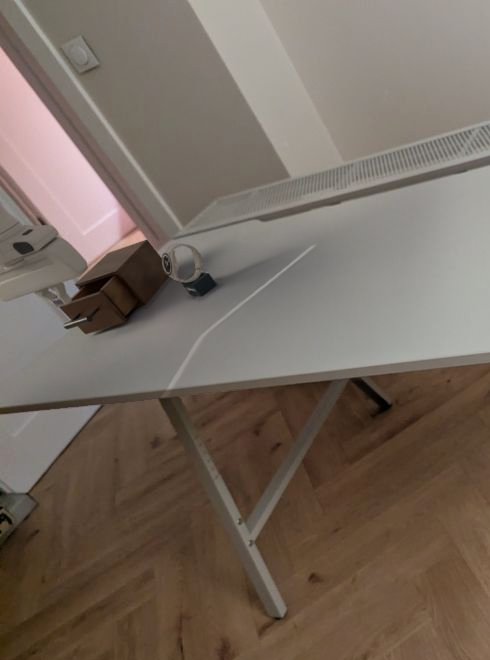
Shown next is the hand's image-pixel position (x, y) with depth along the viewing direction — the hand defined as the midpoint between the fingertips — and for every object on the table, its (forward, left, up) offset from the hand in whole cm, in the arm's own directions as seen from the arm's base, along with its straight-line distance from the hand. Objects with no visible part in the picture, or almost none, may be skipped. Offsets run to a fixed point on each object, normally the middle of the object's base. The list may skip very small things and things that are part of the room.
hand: (64, 303), depth 110 cm
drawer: (0, +8, -9) cm, 12 cm away
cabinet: (0, +19, -10) cm, 21 cm away
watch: (+22, +10, -10) cm, 26 cm away
